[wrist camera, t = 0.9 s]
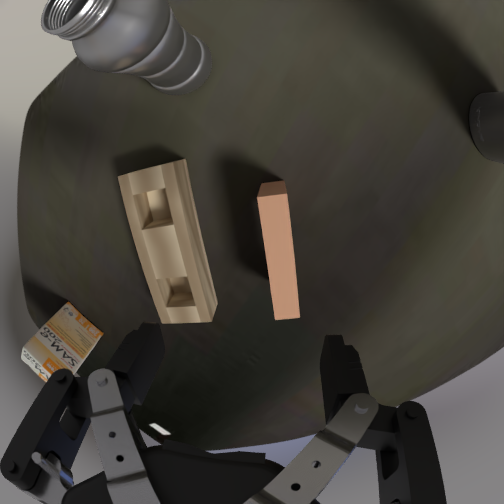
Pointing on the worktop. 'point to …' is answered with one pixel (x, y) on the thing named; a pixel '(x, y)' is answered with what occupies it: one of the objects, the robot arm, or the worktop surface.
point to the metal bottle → (132, 41)
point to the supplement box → (61, 343)
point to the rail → (169, 241)
